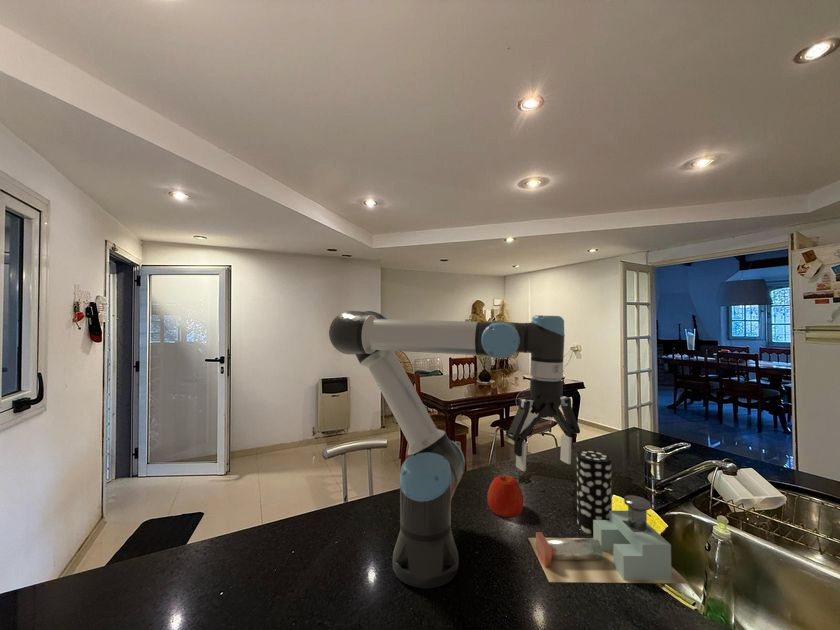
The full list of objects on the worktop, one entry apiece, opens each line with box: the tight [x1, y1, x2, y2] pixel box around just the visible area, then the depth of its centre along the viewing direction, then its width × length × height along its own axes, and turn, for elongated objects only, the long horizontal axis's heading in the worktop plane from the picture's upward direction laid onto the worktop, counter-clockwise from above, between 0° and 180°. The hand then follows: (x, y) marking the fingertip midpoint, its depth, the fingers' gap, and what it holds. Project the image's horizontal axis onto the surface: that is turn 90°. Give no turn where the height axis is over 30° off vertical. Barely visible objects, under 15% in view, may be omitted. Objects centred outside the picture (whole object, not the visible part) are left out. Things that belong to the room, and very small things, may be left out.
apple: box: [486, 474, 524, 518], centre depth 103 cm, size 10×10×10 cm
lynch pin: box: [535, 531, 603, 568], centre depth 81 cm, size 13×6×4 cm, turn 89°
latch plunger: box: [623, 494, 652, 531], centre depth 81 cm, size 5×5×6 cm
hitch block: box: [592, 509, 672, 580], centre depth 81 cm, size 10×13×7 cm
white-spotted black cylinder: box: [576, 449, 613, 536], centre depth 93 cm, size 8×8×20 cm
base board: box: [528, 537, 689, 584], centre depth 81 cm, size 29×15×1 cm, turn 89°
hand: (543, 465), depth 86 cm, fingers open, 13 cm apart
